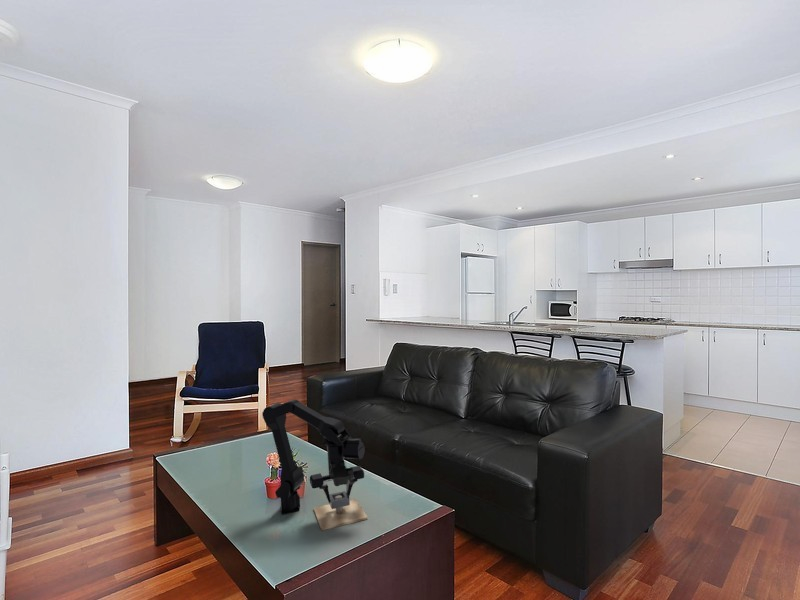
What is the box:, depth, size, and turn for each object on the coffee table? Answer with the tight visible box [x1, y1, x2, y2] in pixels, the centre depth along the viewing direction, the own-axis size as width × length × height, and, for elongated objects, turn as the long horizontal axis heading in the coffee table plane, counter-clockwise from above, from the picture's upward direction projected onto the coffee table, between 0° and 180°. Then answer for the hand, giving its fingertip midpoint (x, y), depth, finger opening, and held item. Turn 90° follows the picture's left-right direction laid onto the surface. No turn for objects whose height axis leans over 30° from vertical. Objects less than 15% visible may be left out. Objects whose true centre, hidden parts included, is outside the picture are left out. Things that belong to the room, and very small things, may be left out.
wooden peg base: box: [312, 495, 368, 531], centre depth 160 cm, size 16×16×6 cm
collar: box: [328, 490, 350, 509], centre depth 160 cm, size 6×6×2 cm
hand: (338, 500), depth 160 cm, fingers closed on collar, 6 cm apart
